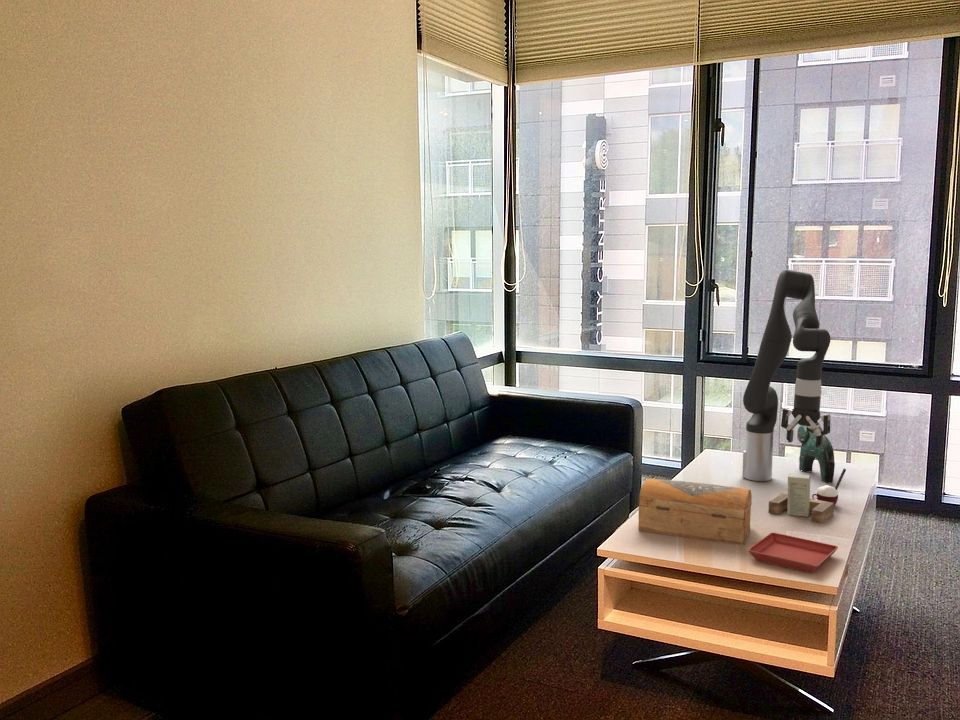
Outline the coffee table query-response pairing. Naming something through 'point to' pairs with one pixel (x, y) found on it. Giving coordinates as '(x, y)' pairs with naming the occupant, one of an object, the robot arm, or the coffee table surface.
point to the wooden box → (695, 510)
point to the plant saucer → (792, 552)
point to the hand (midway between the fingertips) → (804, 444)
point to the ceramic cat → (816, 453)
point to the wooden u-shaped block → (817, 507)
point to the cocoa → (829, 491)
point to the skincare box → (798, 495)
